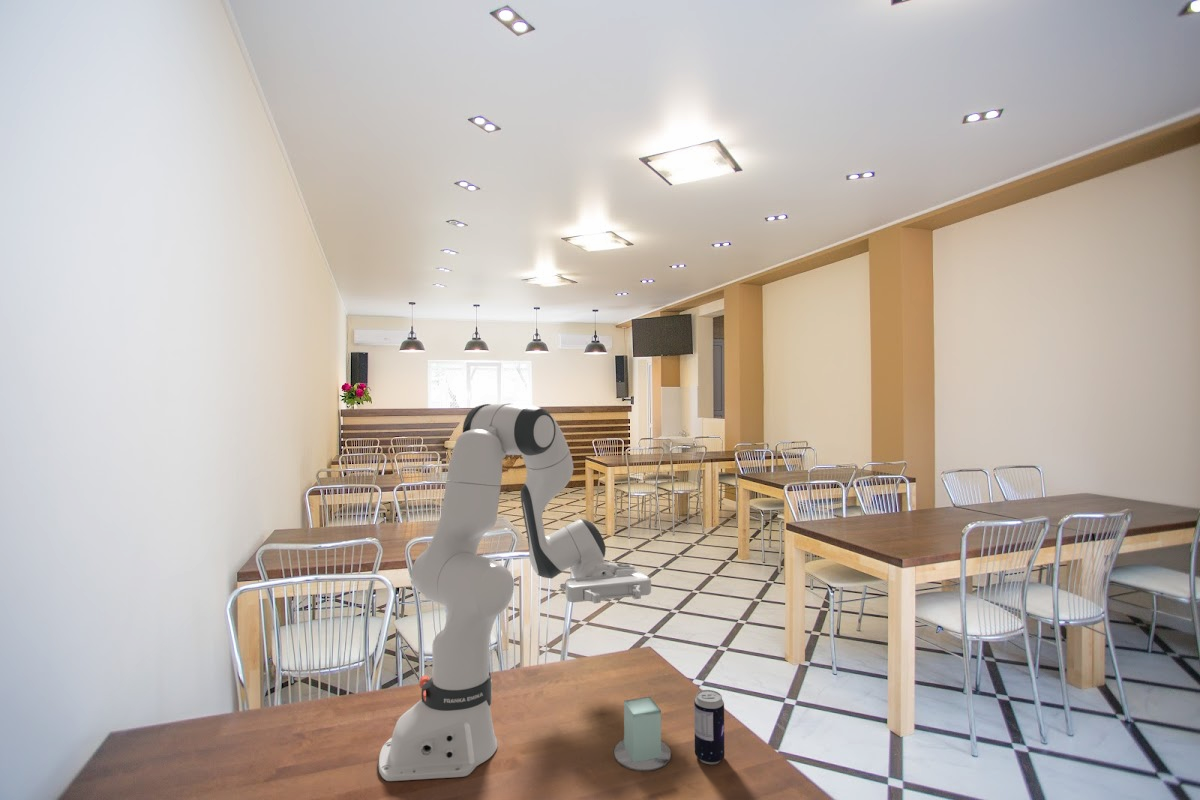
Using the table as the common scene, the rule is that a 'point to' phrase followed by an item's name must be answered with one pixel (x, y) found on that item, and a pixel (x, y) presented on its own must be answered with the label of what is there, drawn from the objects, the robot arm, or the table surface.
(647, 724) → the mint green lidded box
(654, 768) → the post
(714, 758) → the beverage can
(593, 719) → the table surface
